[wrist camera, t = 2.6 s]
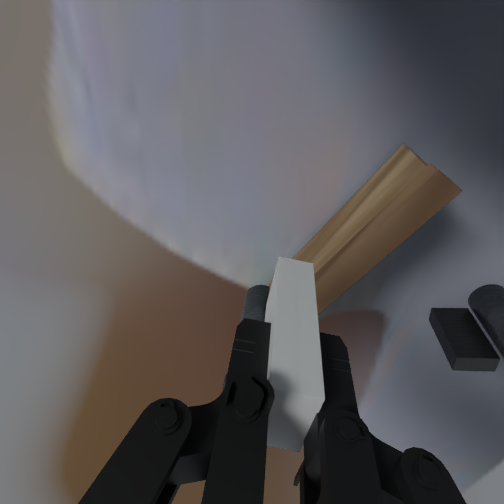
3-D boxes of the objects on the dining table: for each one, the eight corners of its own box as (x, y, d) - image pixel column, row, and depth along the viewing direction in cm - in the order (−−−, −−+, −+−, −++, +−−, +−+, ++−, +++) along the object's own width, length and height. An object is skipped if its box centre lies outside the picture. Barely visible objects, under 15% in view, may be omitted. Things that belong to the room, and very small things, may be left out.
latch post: (438, 281, 31) (498, 382, 22) (518, 280, 30) (616, 386, 21) (428, 319, 33) (479, 425, 24) (502, 320, 32) (583, 430, 23)
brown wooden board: (264, 284, 33) (257, 340, 27) (403, 138, 24) (440, 171, 18) (279, 294, 33) (275, 351, 27) (421, 153, 25) (462, 190, 19)
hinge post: (240, 281, 33) (219, 373, 24) (281, 281, 33) (275, 375, 24) (244, 312, 35) (226, 407, 26) (282, 313, 35) (278, 410, 26)
